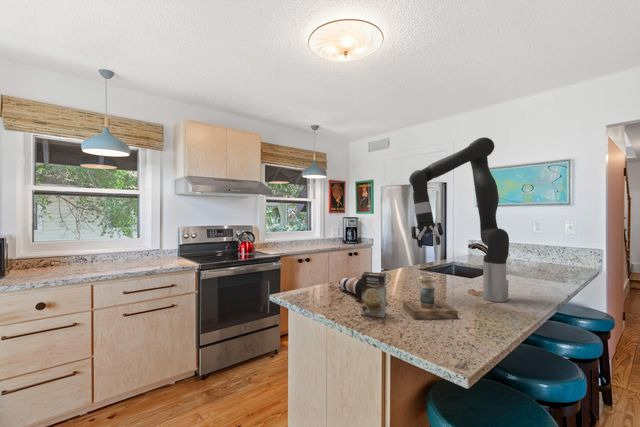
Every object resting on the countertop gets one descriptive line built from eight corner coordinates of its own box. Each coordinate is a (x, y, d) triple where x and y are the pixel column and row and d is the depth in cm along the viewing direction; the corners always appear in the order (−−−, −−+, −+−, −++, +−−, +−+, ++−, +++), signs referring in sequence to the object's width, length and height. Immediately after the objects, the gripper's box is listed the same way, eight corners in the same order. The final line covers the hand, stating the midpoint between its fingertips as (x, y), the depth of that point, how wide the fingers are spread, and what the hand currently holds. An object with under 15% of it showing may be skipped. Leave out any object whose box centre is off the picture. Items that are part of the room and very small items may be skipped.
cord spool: (431, 309, 125) (431, 275, 125) (438, 314, 119) (438, 279, 119) (416, 309, 125) (417, 275, 125) (422, 314, 119) (423, 279, 119)
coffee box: (360, 315, 118) (360, 274, 118) (363, 310, 124) (363, 271, 124) (384, 317, 115) (384, 276, 115) (386, 312, 121) (386, 273, 121)
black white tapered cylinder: (344, 295, 162) (351, 277, 165) (382, 306, 131) (389, 284, 134) (329, 288, 159) (336, 270, 161) (363, 298, 128) (371, 276, 130)
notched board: (441, 307, 128) (442, 300, 128) (457, 318, 115) (457, 310, 115) (402, 308, 126) (402, 301, 126) (414, 319, 114) (414, 311, 113)
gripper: (411, 213, 138) (418, 248, 137) (441, 209, 139) (447, 244, 138) (406, 215, 145) (412, 248, 144) (434, 210, 146) (440, 243, 145)
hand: (429, 246), depth 141 cm, fingers open, 8 cm apart
